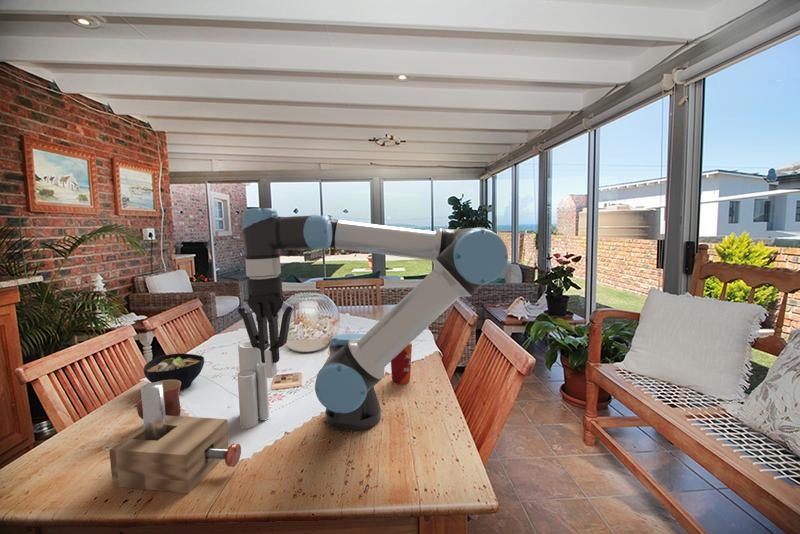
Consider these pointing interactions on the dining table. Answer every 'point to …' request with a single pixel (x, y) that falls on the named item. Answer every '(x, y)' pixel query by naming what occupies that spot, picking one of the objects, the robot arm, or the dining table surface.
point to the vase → (252, 386)
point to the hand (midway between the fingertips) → (271, 375)
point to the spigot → (153, 411)
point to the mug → (167, 398)
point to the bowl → (174, 368)
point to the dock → (169, 455)
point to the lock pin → (225, 454)
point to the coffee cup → (402, 366)
